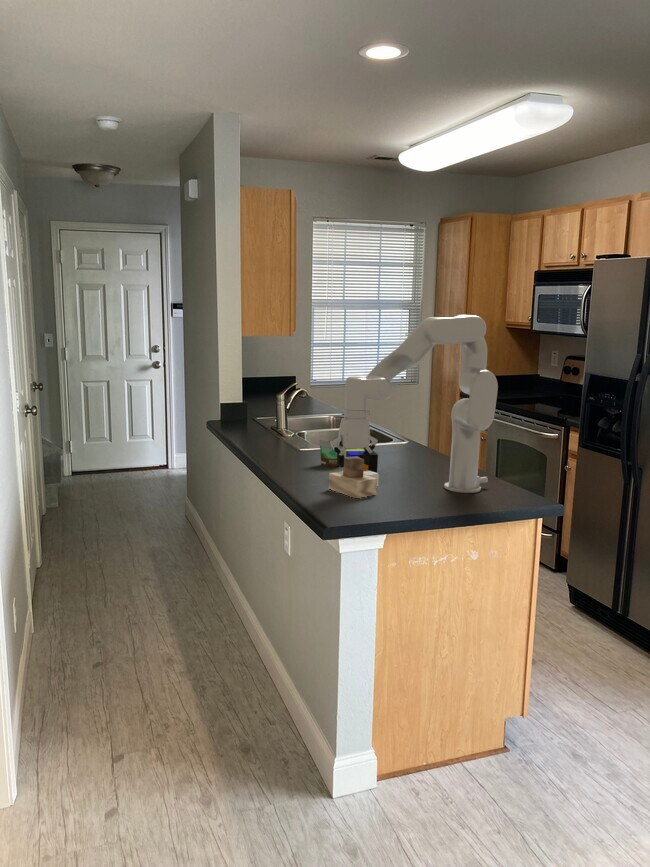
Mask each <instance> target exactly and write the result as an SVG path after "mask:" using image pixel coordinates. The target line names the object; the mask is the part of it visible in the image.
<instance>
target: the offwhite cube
mask: <svg viewBox="0 0 650 867" xmlns="http://www.w3.org/2000/svg"><path fill="white" fill-rule="evenodd" d="M363 475H367V476H370V477H373V478H376V479H377V486H378V487H379V480H380V478H379V477H380V474H379V473H378V472H377V473H376V472H372V471H363Z"/></svg>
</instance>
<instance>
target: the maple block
mask: <svg viewBox="0 0 650 867" xmlns="http://www.w3.org/2000/svg"><path fill="white" fill-rule="evenodd" d="M377 488H378V487H377V479H376V478H373V477H370V476H367V475H363V477H359V478H348V477H346V476H344V475H343V470H342V471H336V472H329V475H328V490H329V489H331V490H334V491H337V492H340V493H343V494H345V495H348V496H350V497H349V498H351V497H354V498H360V499H362V498H361V497H365V498H368V497H367V496H370V497H373V496H372V495H376V496H377ZM331 490H330V491H331ZM334 491H333V492H334ZM337 492H336V493H337ZM345 495H344V496H345ZM348 496H347V497H348ZM354 498H353V499H354Z"/></svg>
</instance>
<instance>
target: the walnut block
mask: <svg viewBox="0 0 650 867" xmlns="http://www.w3.org/2000/svg"><path fill="white" fill-rule="evenodd" d="M342 468H343V469H342V471H343V475H344V476H346V477H348V478H359V477H363V471H364V459H362V458H359V457H357V456H355V457H344V467H342Z"/></svg>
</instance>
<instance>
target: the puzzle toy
mask: <svg viewBox="0 0 650 867" xmlns="http://www.w3.org/2000/svg"><path fill="white" fill-rule="evenodd" d="M364 452H365V450H364V449H363V448H362V449H346V451H345V452H344V457H355V456H357V457H359V458H362V459H363V453H364ZM378 459H379V454H378V453H376V452H375V450H374V449H373V450H372V453H370V462H369V465H366V464H364V471H372V472H376V473H378V465H379V464H378V463H379V462H378V461H379V460H378Z"/></svg>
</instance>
